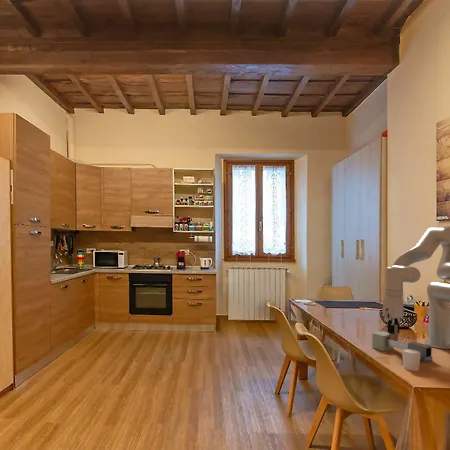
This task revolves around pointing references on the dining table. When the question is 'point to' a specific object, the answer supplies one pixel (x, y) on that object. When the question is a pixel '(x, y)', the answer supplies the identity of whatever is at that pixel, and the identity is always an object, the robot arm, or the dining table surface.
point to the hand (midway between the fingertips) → (393, 332)
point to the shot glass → (411, 359)
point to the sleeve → (422, 351)
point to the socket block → (380, 341)
